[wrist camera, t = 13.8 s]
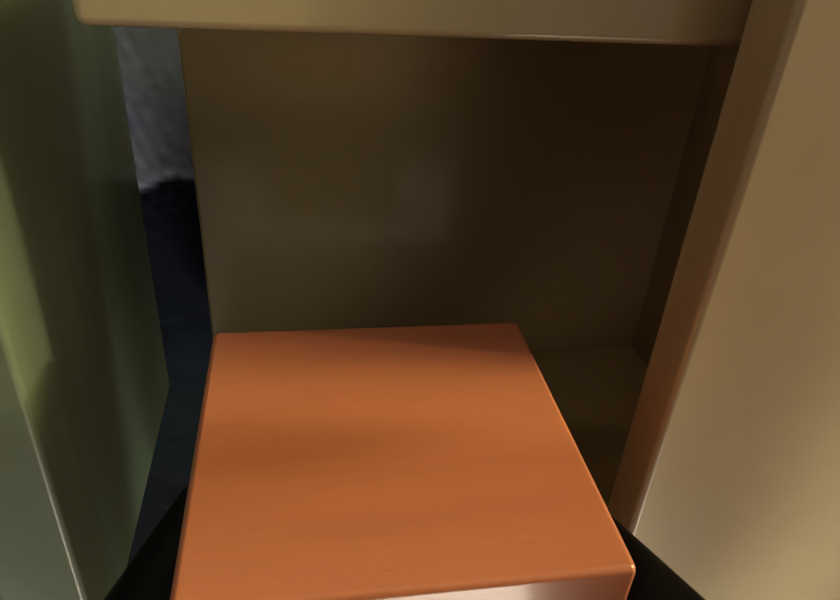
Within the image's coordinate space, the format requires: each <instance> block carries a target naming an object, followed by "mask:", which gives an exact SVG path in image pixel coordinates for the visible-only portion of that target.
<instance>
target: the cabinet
mask: <svg viewBox="0 0 840 600" xmlns="http://www.w3.org/2000/svg"><path fill="white" fill-rule="evenodd" d="M607 509H608V511H609V513H610V514H611V515H612V516H613V517H614V518H615V519H616V520H617V521H619V522H620V523H621V524H622V525H623V526H624V527H625V528H626V529H627V530H629V531H630V532H631V533H632V534H633V535H634V536H635V537H636V538H637V539H639V540H640V541H641V542H642V543H643V544H644V545H645V546H646V547H647V548H649V549H650V550H651V551H652V552H653V553H654V554H655V555H656V556H658V557H659V558H660V559H661V560H662V561H663V562H664V563H665V564H666V565H668V566H669V567H670V568H671V569H672V570H673V571H674V572H675V573H676V574H678V575H679V576H680V577H681V578H682V579H683V580H684V581H685V582H686V583H688V584H689V585H690V586H691V587H692V588H693V589H694V590H695V591H697V592H698V593H699V594H700V595H701V596H702V597H703V598H704V599H705V600H840V0H752V3H751V7H750V10H749V14H748V17H747V21H746V24H745V28H744V31H743V35H742V38H741V42H740V45H739V49H738V52H737V56H736V59H735V63H734V66H733V70H732V73H731V77H730V80H729V84H728V87H727V91H726V94H725V98H724V101H723V105H722V108H721V112H720V115H719V119H718V122H717V126H716V129H715V133H714V136H713V140H712V143H711V147H710V150H709V154H708V157H707V161H706V164H705V168H704V171H703V175H702V178H701V182H700V185H699V189H698V192H697V196H696V199H695V203H694V206H693V210H692V213H691V217H690V220H689V224H688V227H687V231H686V234H685V238H684V241H683V245H682V248H681V252H680V255H679V259H678V262H677V266H676V269H675V273H674V276H673V280H672V283H671V287H670V290H669V294H668V297H667V301H666V304H665V308H664V311H663V315H662V318H661V322H660V325H659V329H658V332H657V336H656V339H655V343H654V346H653V350H652V353H651V357H650V360H649V364H648V367H647V371H646V374H645V378H644V381H643V385H642V388H641V392H640V395H639V399H638V402H637V406H636V409H635V413H634V416H633V420H632V423H631V427H630V430H629V434H628V437H627V441H626V444H625V448H624V451H623V455H622V458H621V462H620V465H619V469H618V472H617V476H616V479H615V483H614V486H613V490H612V493H611V497H610V500H609V504H608V507H607Z"/></svg>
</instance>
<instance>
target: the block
mask: <svg viewBox="0 0 840 600" xmlns="http://www.w3.org/2000/svg"><path fill="white" fill-rule="evenodd" d="M635 573H636V569H635V564H634V562H633V560H632V558H631V556H630V554H629V552H628V550H627V547H626V545H625V543H624V541H623V539H622V537H621V535H620V533H619V531H618V529H617V527H616V525H615V523H614V521H613V519H612V517H611V515H610V513H609V511H608V509H607V507H606V505H605V503H604V501H603V498H602V496H601V494H600V492H599V490H598V488H597V486H596V484H595V482H594V480H593V478H592V476H591V474H590V472H589V470H588V468H587V466H586V464H585V462H584V460H583V458H582V456H581V454H580V452H579V449H578V447H577V445H576V443H575V441H574V439H573V437H572V435H571V433H570V431H569V429H568V427H567V425H566V423H565V421H564V419H563V417H562V415H561V413H560V411H559V409H558V407H557V405H556V403H555V400H554V398H553V396H552V394H551V392H550V390H549V388H548V386H547V384H546V382H545V380H544V378H543V376H542V374H541V372H540V370H539V368H538V366H537V364H536V362H535V360H534V358H533V356H532V354H531V351H530V349H529V347H528V345H527V343H526V341H525V339H524V337H523V335H522V333H521V331H520V329H519V327H518V325H517V324H516V323H488V324H460V325H432V326H404V327H376V328H348V329H320V330H292V331H264V332H236V333H218V334H215V335H214V337H213V341H212V347H211V353H210V359H209V365H208V371H207V377H206V383H205V389H204V396H203V402H202V408H201V414H200V420H199V426H198V432H197V438H196V444H195V450H194V456H193V462H192V468H191V474H190V480H189V486H188V492H187V498H186V504H185V510H184V516H183V522H182V528H181V534H180V540H179V546H178V552H177V558H176V564H175V570H174V576H173V582H172V588H171V595H170V600H626V599H627V596H628V593H629V590H630V588H631V585H632V582H633V579H634V576H635Z"/></svg>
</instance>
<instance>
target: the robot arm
mask: <svg viewBox="0 0 840 600" xmlns="http://www.w3.org/2000/svg"><path fill="white" fill-rule="evenodd" d="M187 492H188V487H186V488H184V489H183V490H182V492H181V493H180V494H179V496H178V497H177V498H176V500H175V501H174V503H173V504H172V505H171V507H170V508H169V509H168V511H167V512H166V514H165V515H164V516H163V518H162V519H161V521H160V522H159V523H158V525H157V526H156V528H155V529H154V530H153V532H152V533H151V534H150V536H149V537H148V539H147V540H146V541H145V543H144V544H143V546H142V547H141V548H140V550H139V551H138V552H137V554H136V555H135V557H134V558H133V559H132V561H131V562H130V564H129V565H128V566H127V568H126V569H125V570H124V572H123V573H122V575H121V576H120V577H119V579H118V580H117V582H116V583H115V584H114V586H113V587H112V589H111V590H110V591H109V593H108V594H107V595H106V597H105V598H104V600H170V595H171V588H172V582H173V576H174V570H175V564H176V558H177V552H178V546H179V540H180V534H181V528H182V522H183V516H184V510H185V504H186V498H187ZM610 515H611V514H610ZM611 517H612V519H613V521H614V523H615V525H616V527H617V529H618V531H619V533H620V535H621V537H622V539H623V541H624V543H625V545H626V547H627V550H628V552H629V554H630V556H631V558H632V560H633V562H634V564H635V569H636V573H635V576H634V579H633V582H632V585H631V588H630V590H629V593H628V596H627V599H626V600H705V599H704V598H703V597H702V596H701V595H700V594H699V593H698V592H697V591H695V590H694V589H693V588H692V587H691V586H690V585H689V584H688V583H686V582H685V581H684V580H683V579H682V578H681V577H680V576H679V575H678V574H676V573H675V572H674V571H673V570H672V569H671V568H670V567H669V566H668V565H666V564H665V563H664V562H663V561H662V560H661V559H660V558H659V557H658V556H656V555H655V554H654V553H653V552H652V551H651V550H650V549H649V548H647V547H646V546H645V545H644V544H643V543H642V542H641V541H640V540H639V539H637V538H636V537H635V536H634V535H633V534H632V533H631V532H630V531H629V530H627V529H626V528H625V527H624V526H623V525H622V524H621V523H620V522H619V521H617V520H616V519H615V518H614V517H613V516H612V515H611Z"/></svg>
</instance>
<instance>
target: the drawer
mask: <svg viewBox="0 0 840 600" xmlns="http://www.w3.org/2000/svg"><path fill="white" fill-rule="evenodd" d="M751 3H752V0H0V600H104V598H105V597H106V595H107V594H108V593H109V591H110V590H111V589H112V587H113V586H114V584H115V583H116V582H117V580H118V579H119V577H120V576H121V575H122V573H123V572H124V570H125V569H126V567H127V563H128V559H129V555H130V551H131V546H132V542H133V538H134V534H135V529H136V525H137V521H138V517H139V513H140V508H141V504H142V500H143V496H144V491H145V487H146V483H147V479H148V475H149V470H150V466H151V462H152V458H153V453H154V449H155V445H156V441H157V437H158V432H159V428H160V424H161V420H162V416H163V411H164V407H165V403H166V399H167V394H168V390H169V386H170V384H169V378H168V371H167V365H166V359H165V353H164V346H163V340H162V334H161V327H160V321H159V315H158V309H157V302H156V296H155V290H154V284H153V277H152V271H151V265H150V258H149V252H148V246H147V240H146V233H145V227H144V221H143V215H142V208H141V202H140V196H139V189H138V183H137V177H136V171H135V164H134V158H133V152H132V146H131V139H130V133H129V127H128V120H127V114H126V108H125V102H124V95H123V89H122V83H121V76H120V70H119V64H118V58H117V51H116V45H115V39H114V33H113V27H141V28H172V29H177V31H178V40H179V49H180V58H181V66H182V75H183V84H184V93H185V101H186V110H187V119H188V128H189V136H190V145H191V154H192V163H193V172H194V180H195V189H196V198H197V207H198V215H199V224H200V233H201V242H202V251H203V259H204V268H205V277H206V286H207V294H208V303H209V312H210V321H211V329H212V338H213V337H214V335H215V334H218V333H236V332H264V331H292V330H320V329H348V328H376V327H404V326H432V325H460V324H488V323H516V324H517V325H518V327H519V329H520V331H521V333H522V335H523V337H524V339H525V341H526V343H527V345H528V347H529V349H530V351H531V354H532V356H533V358H534V360H535V362H536V364H537V366H538V368H539V370H540V372H541V374H542V376H543V378H544V380H545V382H546V384H547V386H548V388H549V390H550V392H551V394H552V396H553V398H554V400H555V403H556V405H557V407H558V409H559V411H560V413H561V415H562V417H563V419H564V421H565V423H566V425H567V427H568V429H569V431H570V433H571V435H572V437H573V439H574V441H575V443H576V445H577V447H578V449H579V452H580V454H581V456H582V458H583V460H584V462H585V464H586V466H587V468H588V470H589V472H590V474H591V476H592V478H593V480H594V482H595V484H596V486H597V488H598V490H599V492H600V494H601V496H602V498H603V501H604V503H605V505H606V507H608V504H609V500H610V497H611V493H612V490H613V486H614V483H615V479H616V476H617V472H618V469H619V465H620V462H621V458H622V455H623V451H624V448H625V444H626V441H627V437H628V434H629V430H630V427H631V423H632V420H633V416H634V413H635V409H636V406H637V402H638V399H639V395H640V392H641V388H642V385H643V381H644V378H645V374H646V371H647V367H648V364H649V360H650V357H651V353H652V350H653V346H654V343H655V339H656V336H657V332H658V329H659V325H660V322H661V318H662V315H663V311H664V308H665V304H666V301H667V297H668V294H669V290H670V287H671V283H672V280H673V276H674V273H675V269H676V266H677V262H678V259H679V255H680V252H681V248H682V245H683V241H684V238H685V234H686V231H687V227H688V224H689V220H690V217H691V213H692V210H693V206H694V203H695V199H696V196H697V192H698V189H699V185H700V182H701V178H702V175H703V171H704V168H705V164H706V161H707V157H708V154H709V150H710V147H711V143H712V140H713V136H714V133H715V129H716V126H717V122H718V119H719V115H720V112H721V108H722V105H723V101H724V98H725V94H726V91H727V87H728V84H729V80H730V77H731V73H732V70H733V66H734V63H735V59H736V56H737V52H738V49H739V45H740V42H741V38H742V35H743V31H744V28H745V24H746V21H747V17H748V14H749V10H750V7H751Z"/></svg>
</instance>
